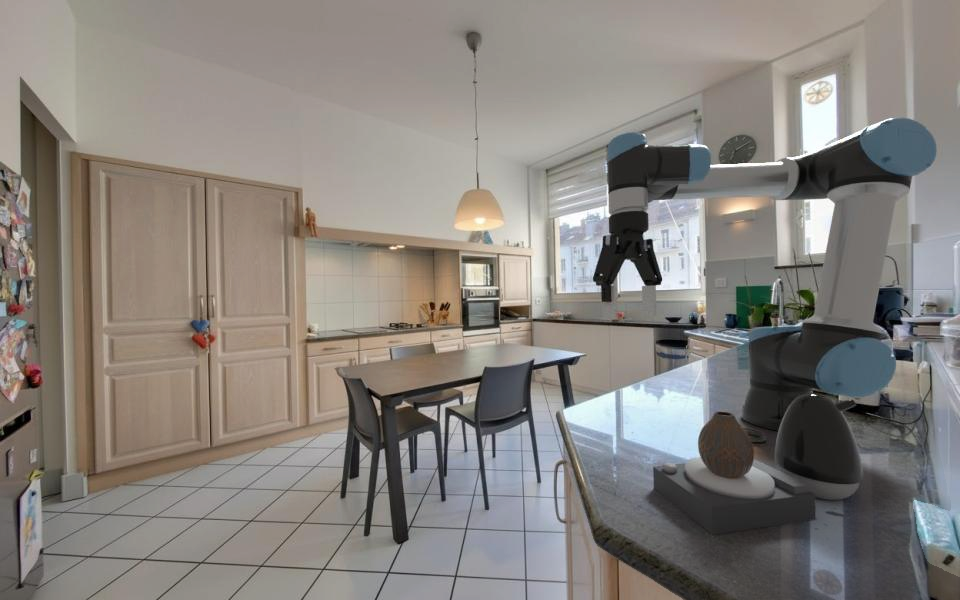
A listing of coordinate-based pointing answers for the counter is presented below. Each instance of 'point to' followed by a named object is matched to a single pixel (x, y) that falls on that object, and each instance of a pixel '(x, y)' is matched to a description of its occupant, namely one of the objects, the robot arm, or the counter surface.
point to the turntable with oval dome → (735, 496)
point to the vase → (725, 446)
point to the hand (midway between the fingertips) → (630, 317)
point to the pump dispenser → (819, 446)
